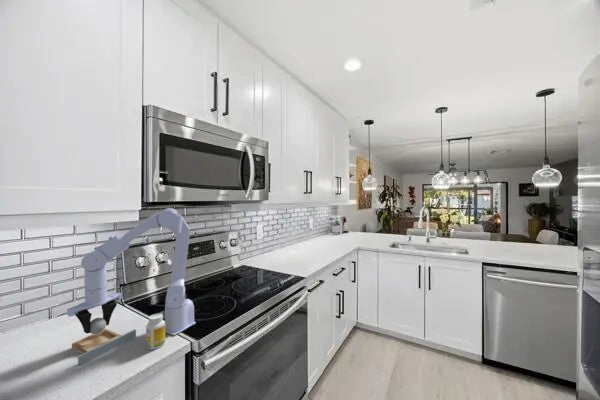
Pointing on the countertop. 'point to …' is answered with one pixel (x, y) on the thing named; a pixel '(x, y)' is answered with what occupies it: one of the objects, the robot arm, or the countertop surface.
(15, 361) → the countertop surface
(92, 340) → the wooden dish
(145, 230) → the robot arm
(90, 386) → the countertop surface
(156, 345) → the supplement bottle
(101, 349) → the acrylic wall
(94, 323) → the ball
